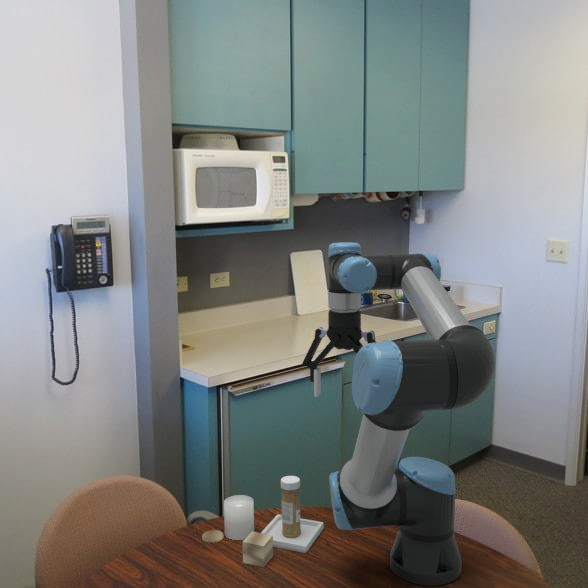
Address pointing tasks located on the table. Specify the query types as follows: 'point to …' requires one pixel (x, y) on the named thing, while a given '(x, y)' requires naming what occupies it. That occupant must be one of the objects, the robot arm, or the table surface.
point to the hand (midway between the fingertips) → (344, 398)
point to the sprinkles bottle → (290, 506)
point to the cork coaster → (212, 536)
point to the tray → (300, 542)
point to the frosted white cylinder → (238, 517)
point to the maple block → (258, 549)
